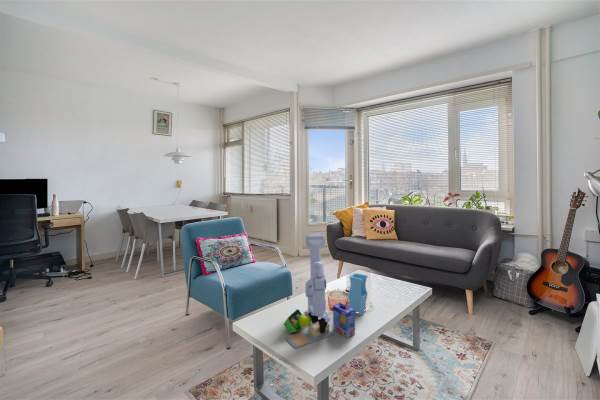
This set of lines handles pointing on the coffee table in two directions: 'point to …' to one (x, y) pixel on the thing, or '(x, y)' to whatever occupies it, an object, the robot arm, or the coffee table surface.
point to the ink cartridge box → (344, 319)
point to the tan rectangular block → (316, 329)
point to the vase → (358, 293)
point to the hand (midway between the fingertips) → (318, 330)
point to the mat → (305, 338)
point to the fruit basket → (296, 321)
